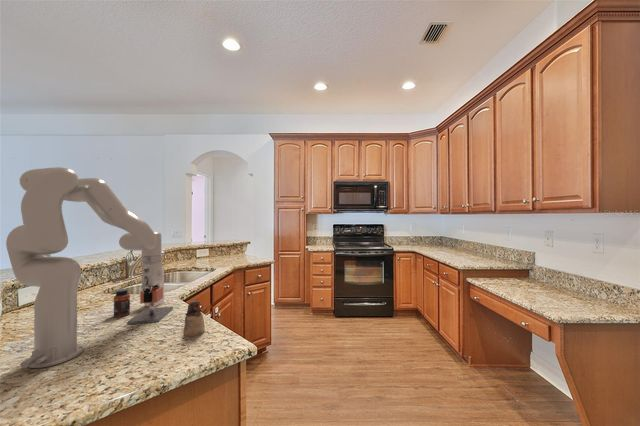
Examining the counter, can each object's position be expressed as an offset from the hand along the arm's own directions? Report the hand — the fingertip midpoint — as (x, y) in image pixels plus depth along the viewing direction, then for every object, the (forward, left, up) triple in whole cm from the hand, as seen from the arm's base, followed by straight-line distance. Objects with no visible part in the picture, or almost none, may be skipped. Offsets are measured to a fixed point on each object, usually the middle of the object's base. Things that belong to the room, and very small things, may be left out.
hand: (151, 299), depth 116 cm
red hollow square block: (0, 0, -1) cm, 1 cm away
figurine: (-22, -24, -8) cm, 33 cm away
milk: (+17, +6, -8) cm, 20 cm away
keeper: (0, 0, -8) cm, 8 cm away
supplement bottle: (+4, +14, -8) cm, 16 cm away
